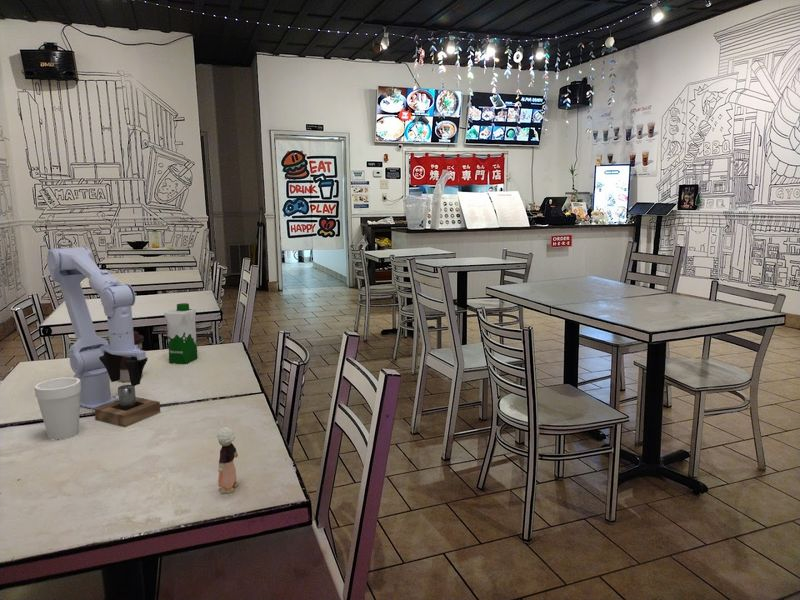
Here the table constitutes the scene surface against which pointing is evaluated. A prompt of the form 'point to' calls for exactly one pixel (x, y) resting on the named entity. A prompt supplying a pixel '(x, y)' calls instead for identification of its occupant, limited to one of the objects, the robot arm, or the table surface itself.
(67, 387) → the foam cup
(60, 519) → the table surface
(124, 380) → the coffee cup
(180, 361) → the milk carton
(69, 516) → the table surface
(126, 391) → the round peg
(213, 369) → the table surface
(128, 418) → the square wooden ring
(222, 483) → the grandmother figurine
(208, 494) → the table surface
